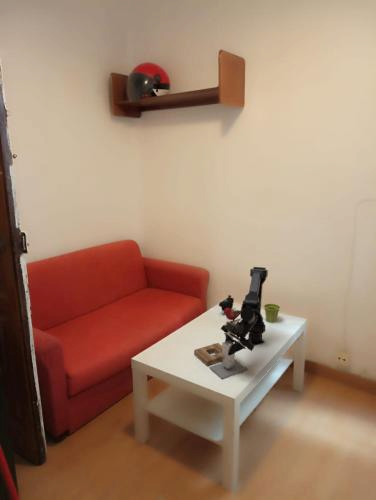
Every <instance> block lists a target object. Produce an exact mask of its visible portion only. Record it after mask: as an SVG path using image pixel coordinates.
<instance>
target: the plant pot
mask: <svg viewBox="0 0 376 500" xmlns="http://www.w3.org/2000/svg"><path fill="white" fill-rule="evenodd" d="M263 308H264V311H265V313H264V314H265V321H267V322H268V323H275V322H277V320H278V315H279V311H280V309H281V305H279V304H276V303H265V304H264V305H263Z"/></svg>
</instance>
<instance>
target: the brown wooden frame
mask: <svg viewBox="0 0 376 500" xmlns="http://www.w3.org/2000/svg"><path fill="white" fill-rule="evenodd" d="M193 353H194V356H195V357H197V359H199V361H200V362H201V363H203V364H204V365H205V366H206V367H210V366H213V365H214V364H215V365H216V364H217V363H218V364H219V363H222V344H220V343H219V342H216V343H212V344H210V345H206V346H202V347H200V348H196V349H194V350H193ZM213 353H214V354H213Z"/></svg>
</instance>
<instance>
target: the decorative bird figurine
mask: <svg viewBox="0 0 376 500" xmlns="http://www.w3.org/2000/svg"><path fill="white" fill-rule="evenodd" d="M223 313H224V314H225V317H226V319H227V320H230V322H231V323H234V322H235V321H236V319H237V318H238V317H239V316H240V313H241V309H240V310H239V309H238V310H237V309H232V310H231V309H229V308H226V309H225V311H224V312H223Z"/></svg>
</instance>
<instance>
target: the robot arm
mask: <svg viewBox="0 0 376 500" xmlns="http://www.w3.org/2000/svg"><path fill="white" fill-rule="evenodd" d="M268 273H269V270H268V269H267V268H266V267H263V266H261V267H260V266H253V267H252V268H250V271H249V277H251V280H250V285H249V291H248V293H247V294H246V295H245V297H244V299H243V300H242V304H241V307H240V310H241V313H240V315H239V316H240V318H241V320H240V321H237V322H236V323H234V322H232V323H231V321H227V322H226V324H224V325H222V326H221V328H220V330H221V331H223V332H224V336H225V339H224V342H226V341H229V340H230V341H231V342H232V343H234V345H233V347H232V348H231V350H230V351H229V353H228V355H229V356H230V355H232V354H234V353H235V354H236V353H237V352H239V351H242V350H246V348H247V349H248V350H249V351H251V352H252V351H254V348H255V346H256V345H259V344H263V343H265V340H264V339H263V334H264V333H265V332H266V324H265V321H264V317H263V315H262V313H261V310H262V298H263V297H262V296H263V285H264V284H265V282H266V281H267V278H268ZM247 336H248V338H246V337H247Z"/></svg>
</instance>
